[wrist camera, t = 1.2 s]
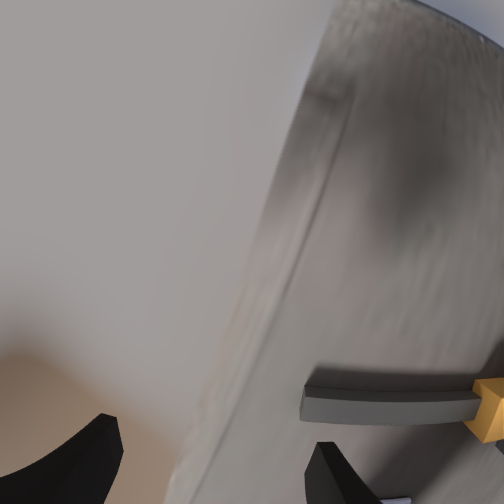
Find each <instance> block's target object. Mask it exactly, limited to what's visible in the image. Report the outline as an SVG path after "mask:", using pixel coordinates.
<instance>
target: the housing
mask: <svg viewBox="0 0 504 504" xmlns="http://www.w3.org/2000/svg"><path fill="white" fill-rule="evenodd" d="M496 447H497V448H498V449H499V450H500V451H501V452H502V454H503V455H504V439H502V440H498V441H497V443H496Z"/></svg>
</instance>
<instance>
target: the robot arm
mask: <svg viewBox="0 0 504 504" xmlns="http://www.w3.org/2000/svg"><path fill="white" fill-rule="evenodd" d="M123 452H124V451H123V446H122V442H121V437H120V432H119V428H118V422H117V418H116V417H113V416H110V415H107V414H103V413H101V414H99V415H98V416H97V417H96V418H95V419H93V420H92V421H91V422H90V423H89V424H88V425H86V426H85V427H84V428H83V429H82V430H80V431H79V432H78V433H77V434H75V435H74V436H73V437H72V438H70V439H69V440H68V441H66V442H65V443H64V444H62V445H61V446H60V447H58V448H57V449H55V450H54V451H52V452H51V453H49V454H48V455H46V456H45V457H43V458H42V459H40V460H38V461H36V462H35V463H33V464H31V465H29V466H27V467H25V468H23V469H21V470H18V471H16V472H14V473H12V474H9V475H6V476H3V477H0V504H104V501H105V499H106V497H107V495H108V493H109V491H110V488H111V486H112V484H113V482H114V479H115V477H116V475H117V472H118V469H119V466H120V462H121V459H122V455H123ZM304 474H305V492H306V500H307V504H411V502H412V501H411V498H399V499H387V500H379V499H378V498H377V497H376V496H375V495H374V494H373V493H372V491H371V490H370V489H369V488H368V487H367V486H366V484H365V483H364V482H363V481H362V480H361V478H360V477H359V476H358V475H357V473H356V472H355V471H354V469H353V468H352V467H351V465H350V464H349V463H348V461H347V460H346V458H345V457H344V456H343V454H342V453H341V451H340V450H339V448H338V447H337V445H336V444H335V443H334V442H317V444H316V447H315V449H314V452H313V454H312V457H311V459H310V462H309V464H308V466H307V469H306V471H305V473H304Z"/></svg>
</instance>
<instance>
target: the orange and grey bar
mask: <svg viewBox="0 0 504 504" xmlns="http://www.w3.org/2000/svg"><path fill="white" fill-rule="evenodd" d="M300 421H308V422H319V423H332V424H349V425H422V424H438V423H451V422H461V421H462V422H463V423H464V424H465V425H466V426H467V427H468V428H469V429H470V430H471V431H472V432H473V433H474V434H475V436H476V437H477V438H478V439H479V440H480V441H481V442H482V443H488V442H492V441H497V440H502V439H504V377H503V378H490V379H475V381H474V385H473V388H472V390H464V391H441V392H390V391H365V390H349V389H336V388H324V387H314V386H305V385H304V390H303V395H302V400H301V404H300Z"/></svg>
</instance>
